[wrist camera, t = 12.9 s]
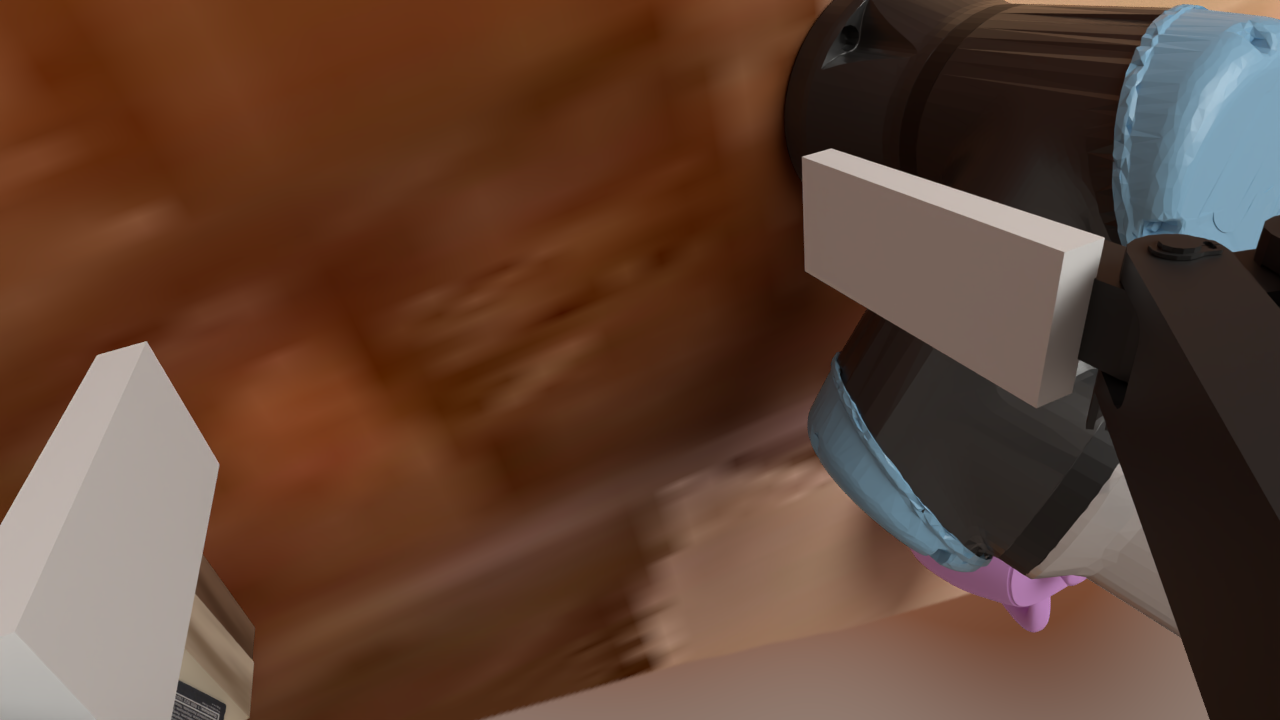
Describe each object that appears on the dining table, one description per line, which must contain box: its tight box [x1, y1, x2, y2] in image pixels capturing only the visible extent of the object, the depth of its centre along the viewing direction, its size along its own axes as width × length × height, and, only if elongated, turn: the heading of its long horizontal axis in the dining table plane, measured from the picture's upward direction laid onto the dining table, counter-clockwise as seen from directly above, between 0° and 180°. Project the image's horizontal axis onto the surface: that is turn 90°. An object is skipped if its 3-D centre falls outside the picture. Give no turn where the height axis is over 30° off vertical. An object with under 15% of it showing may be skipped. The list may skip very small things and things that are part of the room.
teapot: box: [910, 548, 1086, 632], centre depth 63 cm, size 20×20×15 cm
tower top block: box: [179, 594, 254, 720], centre depth 37 cm, size 10×13×4 cm
